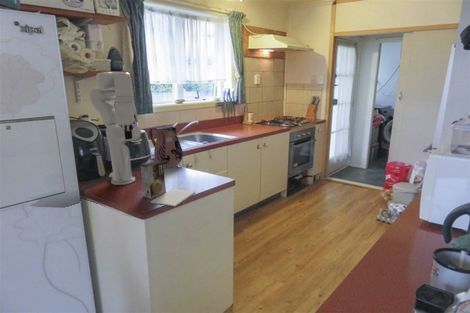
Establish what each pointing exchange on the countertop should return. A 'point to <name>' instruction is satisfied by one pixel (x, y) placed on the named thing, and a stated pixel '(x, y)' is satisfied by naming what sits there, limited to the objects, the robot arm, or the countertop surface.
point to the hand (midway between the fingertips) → (128, 138)
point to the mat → (173, 197)
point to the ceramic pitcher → (167, 146)
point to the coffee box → (153, 179)
